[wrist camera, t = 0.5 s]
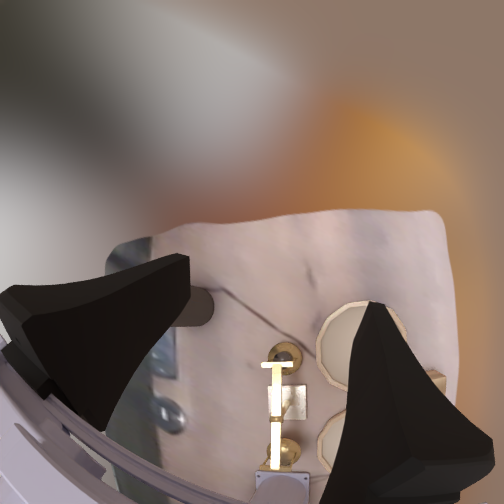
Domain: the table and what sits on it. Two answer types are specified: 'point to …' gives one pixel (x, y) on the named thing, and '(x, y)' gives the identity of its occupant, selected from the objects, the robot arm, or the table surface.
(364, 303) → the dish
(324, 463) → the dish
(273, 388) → the balance scale
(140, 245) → the table surface
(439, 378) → the maple block
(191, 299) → the bottle
